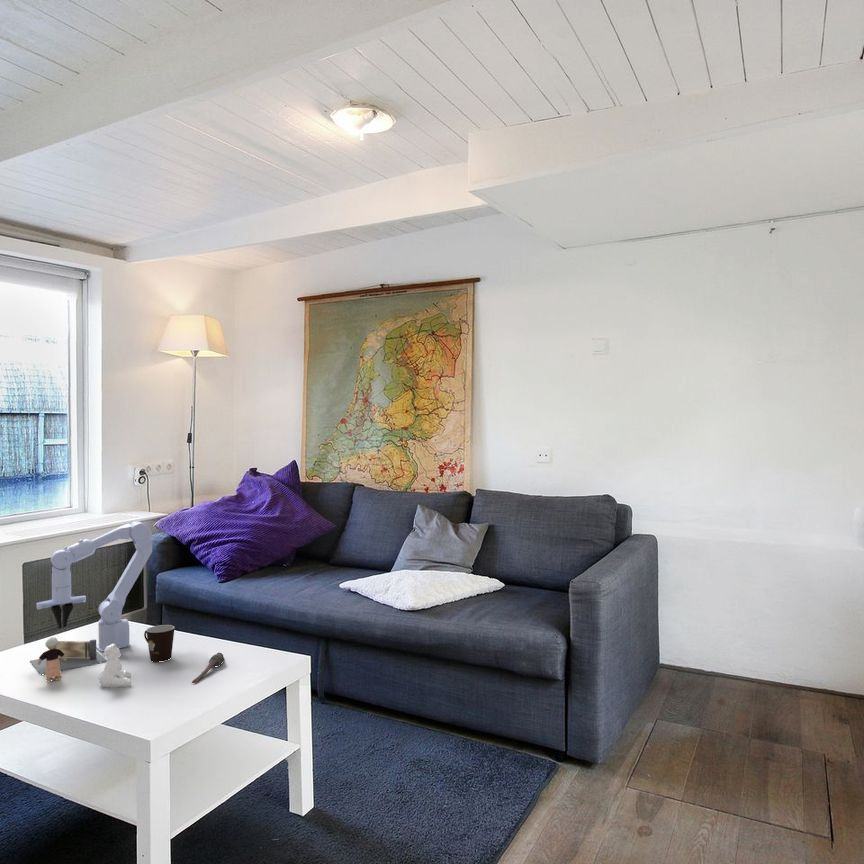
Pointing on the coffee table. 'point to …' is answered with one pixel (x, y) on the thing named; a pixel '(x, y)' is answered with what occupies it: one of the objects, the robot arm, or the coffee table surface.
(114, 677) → the sitting furry creature
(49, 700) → the coffee table surface
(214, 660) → the natural artifact
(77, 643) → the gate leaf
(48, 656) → the grandmother figurine
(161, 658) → the coffee mug
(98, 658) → the gate frame
